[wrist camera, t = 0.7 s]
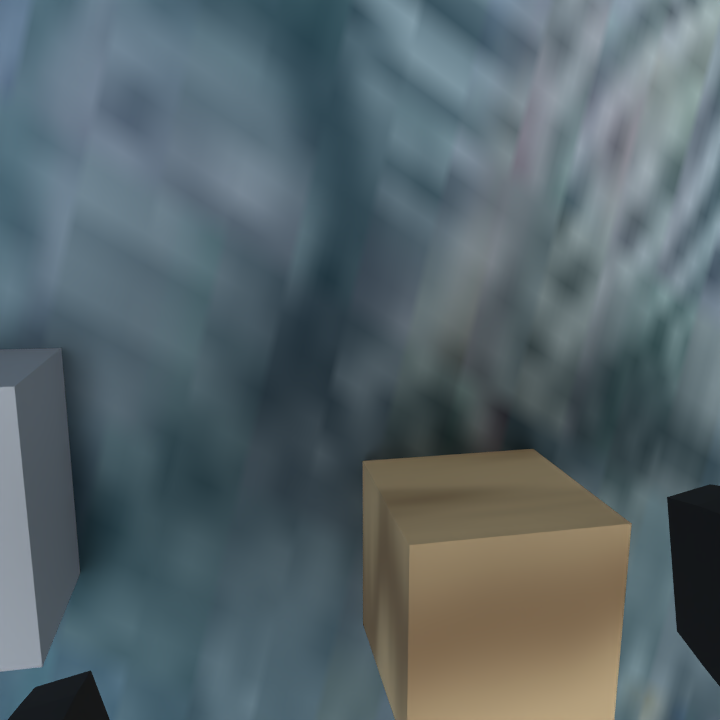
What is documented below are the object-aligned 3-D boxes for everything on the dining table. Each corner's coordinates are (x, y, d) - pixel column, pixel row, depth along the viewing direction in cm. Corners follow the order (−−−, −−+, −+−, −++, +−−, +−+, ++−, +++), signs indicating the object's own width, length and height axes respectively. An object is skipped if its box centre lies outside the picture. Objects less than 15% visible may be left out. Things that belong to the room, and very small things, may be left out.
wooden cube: (523, 603, 21) (614, 721, 16) (362, 622, 20) (406, 753, 15) (531, 447, 20) (631, 523, 15) (362, 459, 19) (409, 544, 14)
